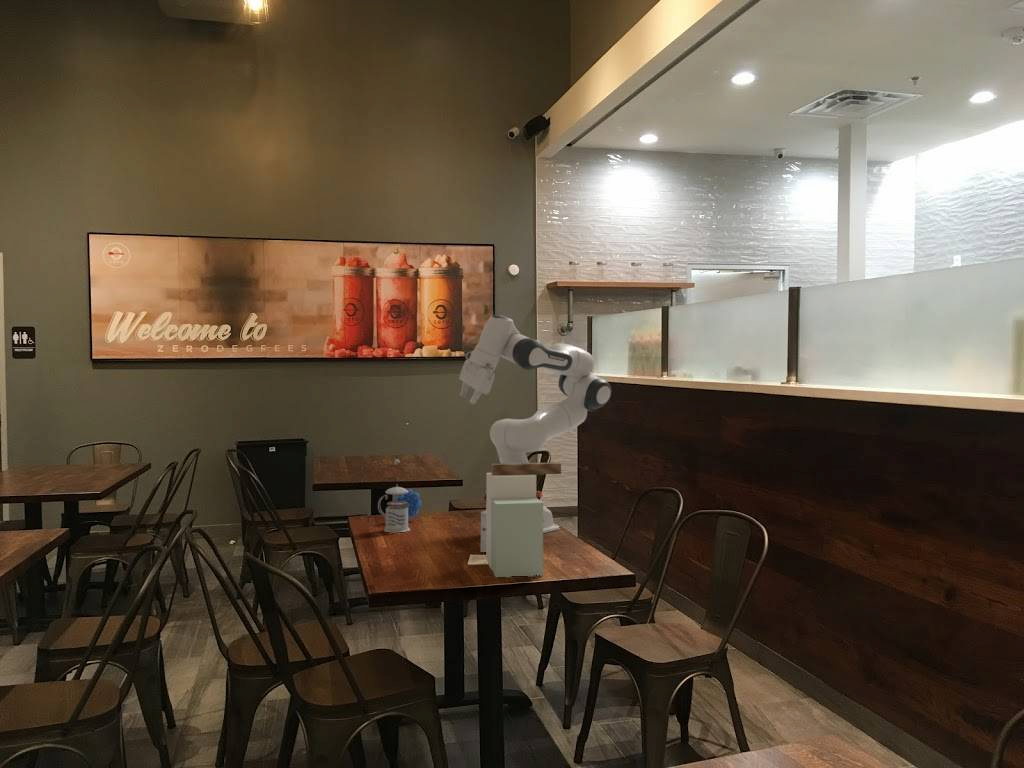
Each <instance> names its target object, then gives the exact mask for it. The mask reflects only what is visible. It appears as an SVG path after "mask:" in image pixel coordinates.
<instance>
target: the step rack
mask: <svg viewBox="0 0 1024 768" xmlns="http://www.w3.org/2000/svg"><path fill="white" fill-rule="evenodd" d="M485 474H486V477H485V478H486V482H485V483H486V491H485V492H486V504H485V505H486V507H485V508H486V509H485V510H486V553H485V555H486V557H485V558H486V560H487V561H486V560H485V561H486V563H487V562H488V563H487V565H488V564H489V565H488V566H489V568H490V570H491V571H493V572H492V574H493V573H494V574H493V576H494V577H495V576H496V577H506V578H510V577H509V576H528V577H543V576H544V533H543V506H544V502H543V501H542V500H541V499H539V497H537V496H536V492H537V475H492V474H491V472H486V473H485ZM534 575H535V576H534ZM536 575H537V576H536ZM539 575H540V576H539ZM496 577H495V578H496Z"/></svg>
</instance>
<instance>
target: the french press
mask: <svg viewBox="0 0 1024 768" xmlns="http://www.w3.org/2000/svg"><path fill="white" fill-rule="evenodd" d="M393 461H394V464H399V463H400V460H399V459H395V460H393ZM408 492H409V491H408V489H406V488H404V487H401V486H398V485H396V486H394V487H390V488H388V489H387V490H385V494H384V495H383V496H381V497H380V498H379V500H378V502H377V510H378V512H379V513H380V514H382V516H383V517H384V518H385V521H384V522H385V524H384V525H385V527H384V529H383V530H384V531H385V532H393V533H394V532H395V533H396V532H406V531H410V529H411V528H410V527H409V521H408V507H407V506H403V505H406V504H407V502H403V501H401V502H398V501H395V502H394V501H393V500H392V501H388V502H387V503H386V505H387V506H386V507H385V513H384V512H383V510H382V509H381V508H382V507H381V506H380V503H381V501H382V500H383V498H384V499H385V500H387V499H388V498H389V496H388V495H398V494H407V493H408ZM397 508H399V509H397ZM393 513H395V514H394V515H392V514H393ZM403 515H404V516H403ZM397 516H401V517H397ZM396 519H399V520H401V521H398V520H396ZM403 519H404V520H403ZM385 532H384V533H385ZM410 532H411V531H410ZM406 533H407V532H406Z"/></svg>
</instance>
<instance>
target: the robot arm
mask: <svg viewBox="0 0 1024 768" xmlns="http://www.w3.org/2000/svg"><path fill="white" fill-rule="evenodd" d="M479 336H480V337H479V340H478V343H477V344H476V345H475V347H474V350H472V351H468V352H467V353H466V356H465V361H464V363H463V365H462V368H461V370H460V373H459V380H460V381H462V385H461V391H460V393H459V396H460V397H462V398H464V399H465V398H467V395H468V389H469V388H470V387H471V388H472V389H474V392H473V395H472V396H471V397H470V398H469V400H468V401H469V403H470V404H471V405H472V404H473V405H476V403H477V401H478V400H479V399H480V398H481V396H482V395H483V394H484V395H486V396H487V395H488V394H489V393H490V391H491V389H492V386H493V384H494V381H495V378H496V375H495V374H496V373H495V370H496V368H497V366H498V364H499V361H500V359H501V358H503V359H505V360H507V361H509V362H511V363H513V364H515V365H517V366H519V367H521V368H522V369H524V370H527V371H529V370H530V371H531V370H535V369H538V368H545V369H546V368H547V369H548V370H550V371H551V372H553V373H555V374H559V375H560V376H559V378H558V388H559V390H560V392H561V393H562V394H564V395H565V396H567V397H566V398H565V399H564V400H562V401H559V402H557V403H553V404H550V405H548V406H545V407H543V408H541V409H538V410H536V411H535V413H534V414H533V415H532V416H530V417H528V418H522V419H516V418H503V419H498V420H496V421H494V423H493V424H492V425H491V427H490V429H489V437H490V438H489V439H490V440H491V442H492V443H493V445H494V446H495V449H496V452H497V456H498V459H499V464H504V463H530V461H529V460H528V457H527V454H526V453H533V452H534V453H535V452H537V451H540V450H541V449H542V448H544V446H545V444H546V443H547V442H548V441H549V440H551V439H552V438H555V437H558V436H559V435H560V436H561V435H562V434H564V433H567V432H570V431H571V430H573V429H575V428H577V427H579V425H581V424H583V423H584V422H585V421H586V419H587V417H588V411H589V412H595V411H597V410H598V409H599V408H602V407H604V406H605V405H606V404H607V403H608V402H609V400H610V399H611V397H612V392H613V391H612V386H611V385H610V383H609V382H608V381H607V380H606V379H604V378H602V377H599V376H597V375H596V374H593V373H592V370H593V369H594V365H595V362H594V361H595V360H594V357H593V355H592V354H591V353H590V352H588V351H587V350H585V349H583V348H581V347H579V346H575V345H573V344H569V343H561V342H560V343H559V342H558V343H554V344H553V345H551V346H550V347H549V348H547V347H545V345H544V344H543V343H542V342H540V341H539V340H537V339H533V338H532V337H531V338H530V337H528V336H526V335H524V334H522V333H520V331H518V329H517V328H516V325H515V323H514V319H512V318H511V317H509V316H506V315H503V314H497V313H496V314H492V315H490V316H489V318H488V320H487V321H486V322H485V324H484V327H483V328H482V331H481V334H480V335H479ZM543 496H544V494H543V492H542V491H539V490H536V497H537V498H542V497H543ZM559 527H560V525H558V524H556V523H554V518H553V514H552V511H551V510H550V509H548V508H547V507H546V506H545V505H543V534H544V533H550V532H553V531H559V530H560V528H559Z"/></svg>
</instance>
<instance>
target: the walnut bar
mask: <svg viewBox="0 0 1024 768" xmlns="http://www.w3.org/2000/svg"><path fill="white" fill-rule="evenodd" d="M490 466H491V472H490V473H491V474H492V475H535V476H537V475H561V474H562V463H560V462H529V463H504V464H500V463H491V465H490Z"/></svg>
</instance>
